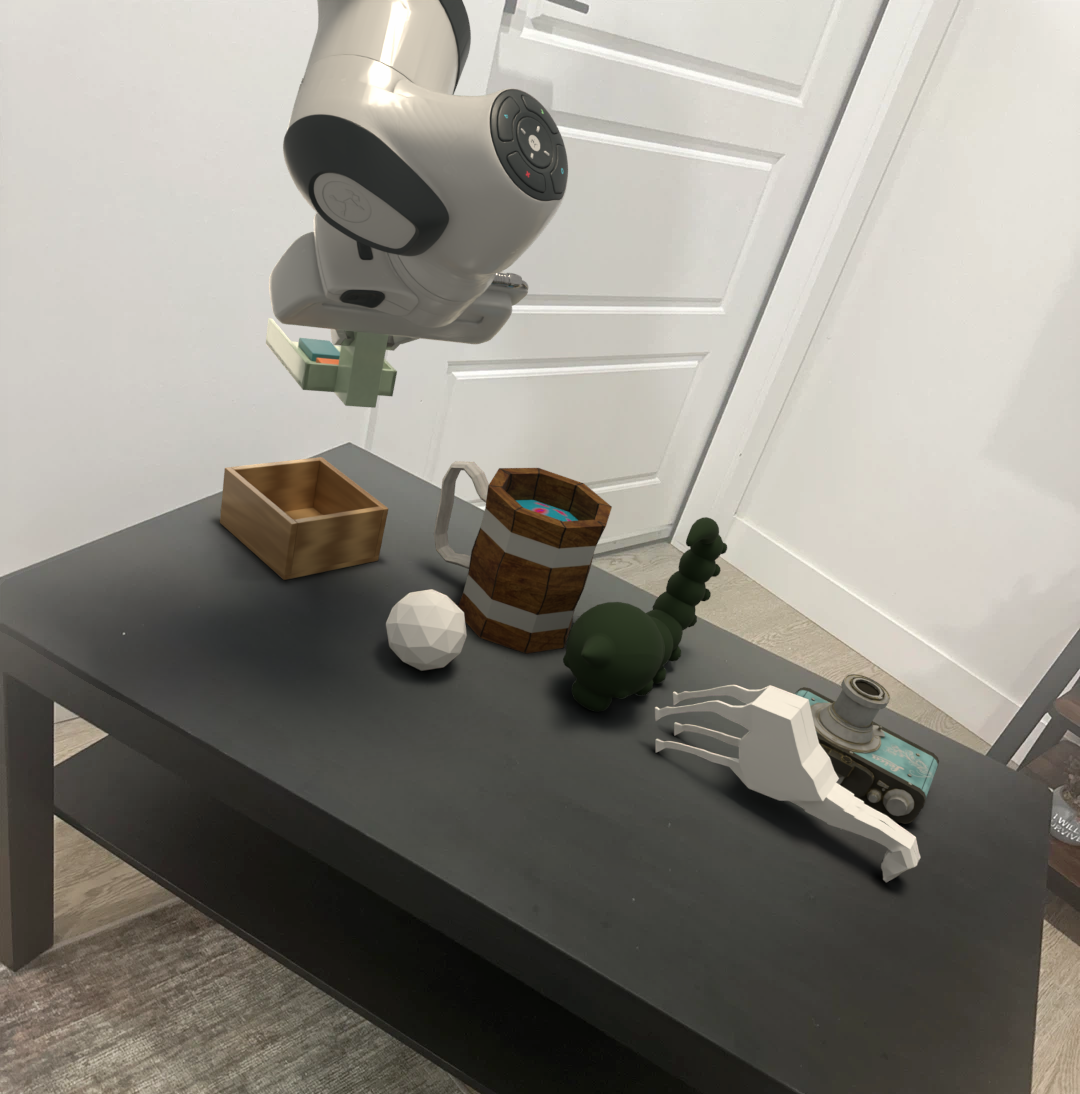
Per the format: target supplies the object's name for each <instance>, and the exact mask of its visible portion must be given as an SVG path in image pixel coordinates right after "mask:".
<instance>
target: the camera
mask: <svg viewBox="0 0 1080 1094" xmlns="http://www.w3.org/2000/svg"><path fill="white" fill-rule="evenodd" d="M840 686H841V691H840V693H839V694H838V697H837V698H836V700H833V699H831V698H829V697H828V696H825V695H824V694H822V693H819V692H818V691H816V690H814V689H812V688H810V687H805V686H804V687H800V688H799V689H797V690H796V692H795V693H794V694H795V695H798V696H801V697H803V698H806V699H809V704H810V708H811V713H812V717H813V722H814V726H815V730H816V734H817V737H818V741H819V744H820V745H821V747H822V748H823V749H824V751H825V752H826V753H827V755H828V756H829V757H830V760H831V763H832V765H833V768H834V771H835V773H836V774H837V776H838V778H839V779H838V781H837V782H836V783H837V784H839V785H841V786H842V787H844V788H845V789H847V790H848V791H850V792H852V793H853V794H855V795H854V796H855V797H857V798H858V799H860V800H862V801H864V804H866V805H868V806H869V807H871V808H873V809H875V810H877V811H879V812H881V813H882V814H884V815H886V816H888V817H889V818H890V819H892V820H893V821H894V822H896V823H899V824H904V825H906V824H910V823H912V822H913V821H915V819H916V818H917V817H918V815H919V813H920V812H921V811H922V809H923V808H924V806H925V804H926V801H927V797H928V795H929V791H930V789H931V787H932V783H933V781H934V778H935V775H936V772H937V770H938V768H939V763H940V759H939V757H938V756H937V755H936V754H935V753H934V752H932V751H930V750H929V749H927V748H925V747H922V746H921V745H919V744H917V743H915V742H913V741H911V740H909V739H908V738H906V737H903V736H902V735H900V734H898V733H896V732H894V731H893V730H890V729H888V728H886V727H885V726H883V725H881V724H879V723H877V722H875V721H874V719H875V718H876V716H877V715H878V713H879V711H880V710H883V709H884V708H887V706H888V704H889V703H890V701H891V695H890V692H889V691H888V690H887V688H885V687H884V686H883V685H882V684H881V683H880V682H879V681H876V680H875V679H873V678H871V677H869V676H865V675H862V674H857V673H850V674H847V675H846V676H844V678H843V680H842V682H841V684H840Z"/></svg>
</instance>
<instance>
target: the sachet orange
mask: <svg viewBox="0 0 1080 1094" xmlns="http://www.w3.org/2000/svg"><path fill="white" fill-rule="evenodd" d="M316 363H325V364H336V365H338V363H339V360H337V359H326V358H316Z"/></svg>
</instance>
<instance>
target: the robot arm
mask: <svg viewBox="0 0 1080 1094" xmlns="http://www.w3.org/2000/svg"><path fill="white" fill-rule="evenodd" d="M316 2H317V14H318V15H317V31H316V33H315V37H314V40H313V44H312V48H311V51H310V53H309V56H308V57H309V58H308V61H307V63H306V67H305V71H304V75H303V77H302V78H301V81H300V84H299V87H298V90H297V93H296V97H295V99H294V103H293V107H292V110H291V114H290V117H289V121H288V125H287V128H286V133H285V134H284V138H283V142H282V153H283V159H284V163H285V167H286V169H287V171H288V173H289V176H290V178H291V180H292V182H293V184H294V185H295V187H296V189H297V190H298V191H299V194H300V195H301V196H302V198H303V199H304V200H305V201H306V203H307V204H308V205H309V206H310V207H311V209H313V211H315V214H314V216H313V231H310V232H307V233H303V234H301V235H300V236H299V237H297V238H296V239H295V240H294V241H293V242H291V244H290V245H289V246H288V248H286V250H285V251H284V252H283V254H282V255H281V256H280V258H279V259H278V260H277V262H276V264H275V265H274V267H273V268H272V270H271V272H270V275H269V278H268V293H269V300H270V303H271V305H270V307H271V310H272V314H273V316H274V317H275V319H276V320H277V321H278V323H281V324H282V325H289V326H290V325H291V326H299V327H308V328H317V329H328V330H330V337H331V343H332V344H333V345H334V346H349V345H350V343H352V342H353V341H354V340H355V337H354V332H364V333H373V334H382V335H389V336H388V341H387V347H386V351H393V352H394V351H396V349H397V348H398V347H399V346H400V345H404V344H407V343H410V342H414V341H416V340H420V339H421V340H431V341H438V342H447V343H458V344H468V345H481V344H484V343H487V342H490V341H491V340H493V338H494V337H495V336H496V335H497V334H498V333H499V332H500V331H501V330H502V329H503V327H504V326H505V325H506V323H507V322H508V321H509V319H510V318H511V316H512V313H513V306H515V305H517V304H519V302H521V301H522V300H523V299H525V297H526V296H527V295H528V293H529V284H528V283H527V281H525V280H524V279H523V277H522V276H521V275H519V274H517V273H514V272H505V270H507V269H509V268H510V267H511V266H512V265H513V264H514V263H516V262H517V261H518V260H519V259H520V258H521V257H522V255H524V254H525V253H526V251H528V249H529V248H530V247H531V246H532V245H533V244H534V243H535V241H537V239H538V238H539V237H540V236H541V235H542V233H543V232H544V231H545V230H546V228H547V227H548V225H549V224H550V223H551V221H552V220H553V219H554V218H555V216H556V214H557V212H558V211H559V209H560V207H561V205H562V203H563V201H564V198H565V195H566V191H567V186H568V177H569V162H568V154H567V149H566V146H565V141H564V139H563V137H562V134H561V131H560V129H559V127H558V126H557V124H556V121H555V120H554V118H553V117H552V116H551V114H550V113H549V111H548V110H547V108H546V107H545V106H544V105H543V104H542V103H541V102H540V101H539V100H538V99H536V98H535V97H534V96H533V95H531V94H530V93H528V92H526V91H524V90H523V89H519V88H512V87H511V88H508V87H507V88H502V89H500V90H497V91H494V92H490V93H488V94H484V95H457V94H455V93H456V89H457V88H458V84H459V82H460V80H461V76H462V74H463V72H464V68H465V65H466V63H467V61H468V58H469V54H470V51H471V42H472V34H471V33H472V31H471V24H470V18H469V15H468V11H467V8H466V6H465V3H464V1H463V0H316Z"/></svg>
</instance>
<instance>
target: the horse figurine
mask: <svg viewBox="0 0 1080 1094" xmlns="http://www.w3.org/2000/svg"><path fill="white" fill-rule="evenodd" d="M719 696H724V697H725V696H727V697H731V698H734V699H736V700H738V701H739V702H741V703H743V704H744V705H732V704H730V703H727V702H725V701H722V700H719V699H716V700H708V701H704V702H703V701H702V702H698V703H695V704H687V705H680V706H676V705H677V704H678V703H680V702H683V701H684V700H689V699H695V698H704V697H719ZM672 701H673V702H672V703H673V706H668V705H667V706H664V707H662V708H659V707H658V706H655V707H654V719H655V722H658V721H659V720H660V719H661V718H663V717H666V716H670V715H675V714H686V713H699V712H702V713H703V712H710V713H714V714H716V715H719V716H720V717H722V718H724V719H727V720H728V721H730V722H733V723H735V724H737V725H739V726H741V727H743V728H745V729H746V730H748V731H747V732H746V733H745V734H744V735H743V736H742V737H737V736H734V735H731V734H727V733H725V732H722V731H718V730H715V729H711V728H708V727H707V728H706V727H704V726H700V725H695V724H689V723H685V724H682V723H679V722H677V721H675V722H674V723H673V735H674V736H677V735H679V734H681V733H683V732H690V733H696V734H700V735H703V736H707V737H711V738H714V739H715V740H718V741H721V742H723V743H725V744H727V745H729V746H734V747H737V748H738V758H736V757H730V756H726V755H723V754H719V753H716V752H715V753H714V752H712V751H709V750H707V749H703V748H700V747H695V746H692V745H688V744H685V743H681V742H678V741H672V740H666V741H664V740H662V739H660V738H656V739H655V740H654V742H655V753H658V752H661V751H662V750H664V749H671V750H677V751H680V752H681V751H682V752H684V753H687V754H692V755H695V756H697V757H700V758H702V759H705V760H706V761H709V762H711V763H714V764H718V765H722V766H725V767H728V768H730V770H731V771H732V772H733V773H734V774H735V775H736V776H737V777H738V779H739V780H740V781H741V782H742V783H743V784H744V785H745V786H746V788H747V789H749V790H752V791H754V792H756V793H759V794H761V795H764V796H767V797H769V798H772V799H774V800H777V801H781V802H783V801H784V802H790V803H792V804H794V805H796V806H797V807H800V808H802V809H803V811H804V812H805V813H806V814H809V815H811V816H813V817H814V818H817V819H818V820H821V821H822V822H824V823H826V825H828V826H831V827H835V828H837V829H841V830H844V831H847V832H850V833H853V834H856V835H858V836H861V837H863V838H866V839H869V840H871V841H874V842H876V843H878V844H880V845H882V846H883V847H884V848H885V847H886V852H885V853H884V854H883V858H882V860H881V862H880V869H881V871H882V880H883V882H885V883H888V882H889V881H892V880H894V879H895V878H897V877H898V876H900V875H901V874H902V873H904V872H907V871H909V870H911V869H913V868H916V867H917V866H918V864H919V862H920V859H921V854H920V851H919V846H918V841H917V837H916V836H915V835H914V834H912V833H911V832H910V831H908V830H907V829H905V828H904V827H902V826H901V825H899V824H898V822H896V821H895V820H893V819H891V818H890V817H888V816H886V815H884V814H882V813H881V812H879V811H877V810H875V809H873V808H871V807H870V806H868V805H866V804H864V801H862V800H860V799H858V798H857V797H855V796H854V795H855V794H853V793H852V792H850V791H848V790H847V789H845V788H844V787H842V786H841V785H839V784H837V783H836V782H837V781H838V779H839V778H838V776H837V774H836V773H835V771H834V768H833V765H832V763H831V760H830V757H829V756H828V755H827V753H826V752H825V751H824V749H823V748H822V747H821V745H820V744H819V741H818V737H817V734H816V730H815V726H814V722H813V717H812V713H811V708H810V704H809V699H806V698H803V697H801V696H798V695H795V693H792V692H789V691H787V690H785V689H782V688H779V687H776V686H773V685H771V684H769V685H766V686H765V687H763V688H760V689H748V688H745V687H743V686H740V685H737V684H728V685H723V686H717V687H713V688H709V689H702V690H693V691H687V690H684V691H682V692H679V693H678V692H676V691H673V692H672ZM674 736H673V737H674Z"/></svg>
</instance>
